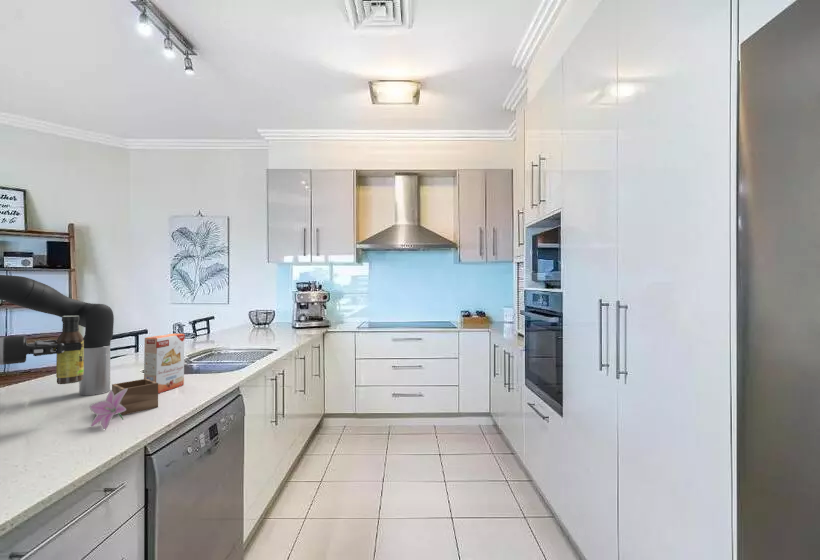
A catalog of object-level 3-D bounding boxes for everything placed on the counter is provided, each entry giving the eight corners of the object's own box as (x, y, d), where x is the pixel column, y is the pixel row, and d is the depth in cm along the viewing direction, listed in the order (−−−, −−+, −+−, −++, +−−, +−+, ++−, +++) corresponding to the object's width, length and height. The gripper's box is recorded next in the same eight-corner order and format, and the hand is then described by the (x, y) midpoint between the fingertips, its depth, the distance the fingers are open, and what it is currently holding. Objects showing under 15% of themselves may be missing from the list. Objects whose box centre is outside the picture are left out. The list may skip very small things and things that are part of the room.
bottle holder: (111, 408, 132) (112, 384, 132) (146, 401, 140) (146, 378, 140) (122, 415, 126) (122, 389, 126) (158, 407, 134) (158, 383, 134)
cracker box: (156, 394, 148) (157, 337, 148) (142, 394, 149) (143, 337, 150) (185, 385, 162) (185, 333, 162) (172, 384, 163) (172, 332, 163)
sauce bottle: (84, 382, 121) (85, 316, 121) (56, 386, 116) (57, 317, 116) (82, 378, 125) (83, 314, 125) (55, 382, 121) (56, 315, 121)
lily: (90, 424, 121) (75, 401, 116) (133, 401, 128) (121, 379, 124) (101, 446, 114) (85, 422, 109) (146, 421, 121) (134, 397, 116)
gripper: (0, 340, 106) (82, 334, 117) (4, 334, 117) (79, 329, 128) (0, 369, 106) (82, 360, 117) (4, 360, 117) (79, 353, 128)
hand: (80, 344), depth 122 cm, fingers closed on sauce bottle, 6 cm apart
